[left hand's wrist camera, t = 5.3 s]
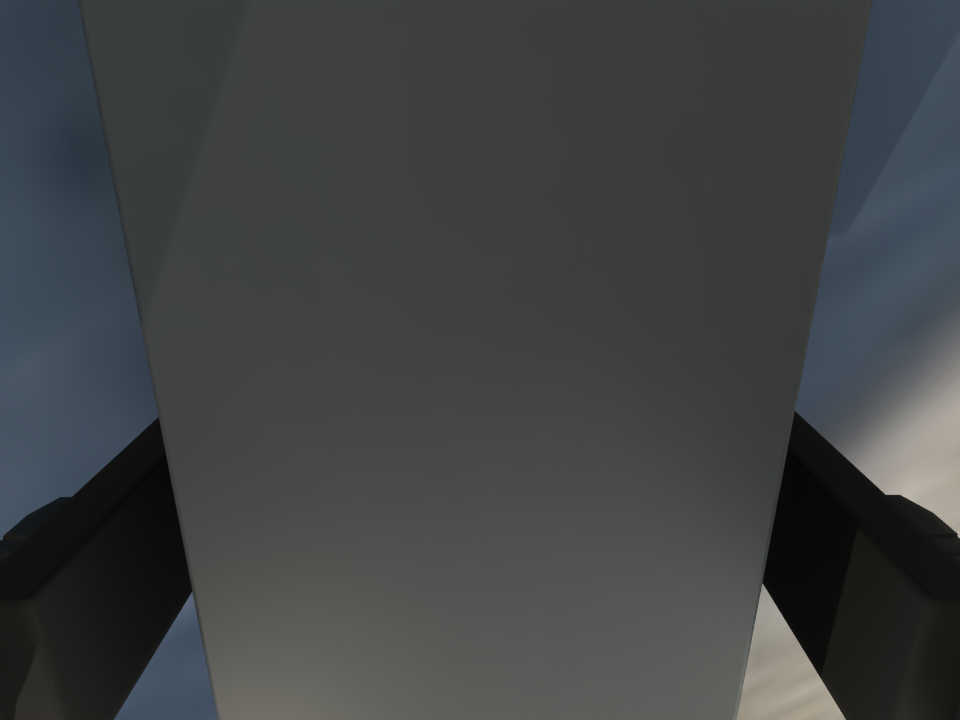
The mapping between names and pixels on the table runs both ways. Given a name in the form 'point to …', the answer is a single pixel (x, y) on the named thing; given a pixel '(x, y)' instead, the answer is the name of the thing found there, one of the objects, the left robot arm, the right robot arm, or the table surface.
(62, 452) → the table surface
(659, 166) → the bar
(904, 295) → the table surface
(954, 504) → the table surface
